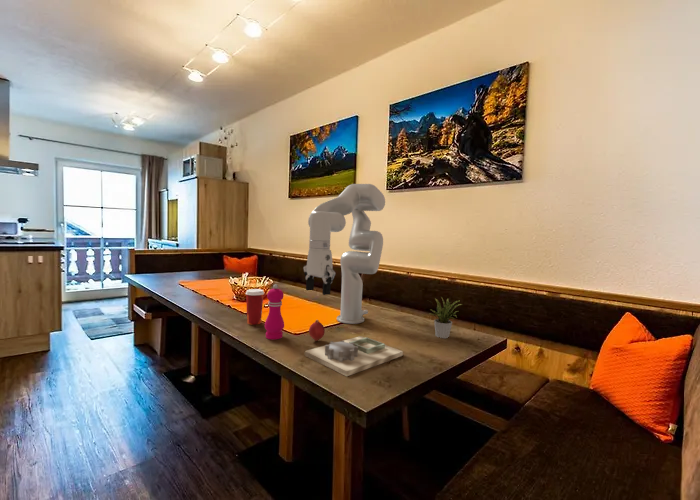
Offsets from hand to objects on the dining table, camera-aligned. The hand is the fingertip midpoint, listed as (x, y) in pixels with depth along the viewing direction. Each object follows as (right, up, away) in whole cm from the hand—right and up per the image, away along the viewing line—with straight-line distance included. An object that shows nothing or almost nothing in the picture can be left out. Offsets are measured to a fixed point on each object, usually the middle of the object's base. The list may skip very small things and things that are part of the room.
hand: (317, 292), depth 126 cm
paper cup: (-29, -16, +21) cm, 39 cm away
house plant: (+50, -20, +13) cm, 56 cm away
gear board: (+13, -20, -12) cm, 26 cm away
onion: (-1, -18, +1) cm, 18 cm away
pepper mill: (-17, -18, +4) cm, 25 cm away
